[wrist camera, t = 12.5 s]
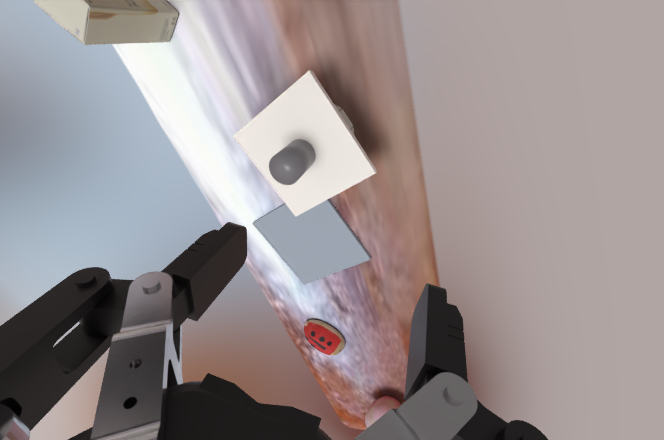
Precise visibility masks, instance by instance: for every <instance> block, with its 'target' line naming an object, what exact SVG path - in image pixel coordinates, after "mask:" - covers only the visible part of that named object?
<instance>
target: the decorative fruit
mask: <svg viewBox="0 0 664 440" xmlns="http://www.w3.org/2000/svg"><path fill="white" fill-rule="evenodd" d="M400 406H401V404H400V402H399V401H397V400H396V399H395V398H393V397H390V396H383V397H381V398H379V399H378V400H376V401H375V402H374V403H373V404H372V405H371V407H370V408H369V410H368V411H367V414H366V417H365V423H366V427H367V428H368V427H369V426H371V425H372V424H373V423H374V422H375V421H377V420H378V419H379V418H380V417H381V416H383V415H384V414H385V413H386V412H388V411H389V410H391V409H393V408H394V409H397V408H398V407H400Z"/></svg>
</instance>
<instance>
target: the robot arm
mask: <svg viewBox="0 0 664 440" xmlns="http://www.w3.org/2000/svg"><path fill="white" fill-rule="evenodd" d="M246 257H247V230H246V227H244V226H241V225H237V224H234V223H231V222H228V223H226V224H225V225H224V226H223V227H222V228H221V229H220V230H219V231H218V230H212V231H210V232H208V233H206V234H204V235H202V236H201V237H200V238H199V239H198V240H197V241H195V243H193V244H192V245H191V246H190V247H189V248H188V250H187V249H186V250H185V251H184V252H183V253H182V254H181V255H179V257H177V258H176V259H175V260H174V261H173V262H172V263H171V264H169V265H168V266H167V267H166V268H165V269H164V270H162V271H161V272H149V273H146V274H143V275H141V276H140V277H138V278H136V279H135V280H119V279H111V277H110V274H109V272H108V271H107V270H106V269H103V268H99V267H93V268H86V269H82V270H79V271H77V272H75V273H73V274H71V275H70V276H68V277H67V278H66V279H64V280H63V281H62V282H60V283H59V284H57V285H56V286H55V287H53V288H52V289H51V290H50V291H48V292H46V293H45V294H44V295H42V296H41V297H40V298H38V299H37V300H36V301H34V302H33V303H31V304H30V305H29V306H28V307H26V308H25V309H23V310H22V311H20V312H19V313H18V314H16V315H15V316H14V317H12V318H11V319H10V320H8V321H7V322H5V323H4V324H3V325H1V326H0V440H29V438H30V431H31V430H32V429H33V428H34V426H35V425H36V424H37V423H38V422H39V421H40V420H41V419H42V418H43V417H44V416H45V415H46V414H47V413H48V412H49V411H50V410H51V409H52V407H53V406H54V405H55V404H56V403H57V402H58V401H59V400H60V399H61V398H62V397H63V396H64V395H65V394H66V393H67V391H69V389H70V388H71V387H72V386H73V385H74V384H75V383H76V382H77V381H78V380H79V379H80V378H81V377H82V376H83V375H84V374H85V373H86V372H87V371H88V369H89V368H90V367H91V366H92V365H93V364H94V363H95V362H96V361H97V360H98V359H99V358H100V357H101V356H102V355H103V354H104V353H105V351H106V350H107V349H108V348H109V347H110V350H109V354H108V359H107V364H106V368H105V373H104V378H103V382H102V387H101V392H100V396H99V401H98V406H97V410H96V415H95V420H94V424H93V427H92V428H90V429H88V430H86V431H84V432H82V433H80V434H78V435H76V436H74V437H72V438H70V439H68V440H331V438H330V437H329V436H328V435H327V434H326V433H325V432H324V431H323V430H321V429H320V428H319V425H320V421H321V418H319V417H317V416H314V415H312V414H309V413H307V412H304V411H301V410H299V409H296V408H294V407H290V406H279V405H270V404H260V403H258V402H256V401H255V400H254V399H253V398H251V397H250V396H249V395H248V394H246V393H245V392H244V391H243V390H241V389H240V388H239V387H238V386H237V385H235V384H234V383H231V382H229V381H226V380H224V379H221V378H219V377H216V376H214V375H211V374H209V373H208V374H207V375H206V377H205V378H204V380H203V381H201V382H200V381H197V382H187V383H183V379H182V323H183V322H184V321H185V320H186V319H187V318H189V319H192V320H195V321H198V319H199V318H200V317H201V316H202V315H203V313H204V312H205V311H206V310H207V308H208V307H209V306H210V305H211V303H212V302H213V301H214V300H215V299H216V297H217V296H218V295H219V294H220V293H221V291H222V290H223V289H224V288H225V287H226V285H227V284H228V283H229V282H230V281H231V279H232V278H233V277H234V276H235V274H236V273H237V272H238V271H239V270H240V268H241V267H242V266H243V264H244V262H245V260H246ZM446 294H447V293H446V289H444V288H441V287H437V286H434V285H431V284H426V286H425V288H424V290H423V292H422V294H421V296H420V299H419V301H418V303H417V305H416V308H415V310H414V314H413V318H412V324H411V334H410V345H409V356H408V366H407V377H406V387H405V398H404V400H407V401H406V402H404V403H403V404H402V405H401V406H400V407H398V408H397V409H394V408H393V409H391V410H389V411H388V412H386V413H385V414H384V415H383V416H381V417H380V418H379V419H378V420H377V421H375V422H374V423H373V424H372V425H371V426H369V427H368V428H367V429H366V430H365V431H363V432H362V433H361V434H360V435H359V436H357V437H356V438H355V439H354V440H548V439H547V438H546V436H545V435H544V434H542V432H541V431H540V430H538V429H537V428H536V427H534V426H533V425H531V424H529V423H527V422H524V421H520V420H514V421H511V422H509V423H507V422H505V421H504V420H502V419H501V418H499V417H498V416H497V415H495V414H494V413H492V412H491V411H489V410H488V409H487V408H485V407H484V406H483V405H482V404H481V403H480V402H479V401H478V400H477V398H476V395H475V393H474V391H473V389H472V388H471V386H470V385H469V384H468V380H467V371H466V370H467V369H466V355H465V343H464V332H463V318H462V316H461V314H460V312H459V310H458V308H457V307H456V306H454V305H451V304H448V303H447V295H446ZM77 322H80V324H79V325H78V326H77V327H76V328H74V329H73V330H72V331H71V332H70V333H69V334H68V335H67V336H65V337H64V338H63V339H62V340H61V341H60V342H59V343H58V344H57V345H55V346H54V344H55V343H56V341H57V340H58V339H59V338H60V337H61V336H63V335H64V334H65V333H66V332H67V331H68V330H69V329H71V328H72V327H73V326H74V325H75V324H76V323H77ZM53 346H54V347H53Z"/></svg>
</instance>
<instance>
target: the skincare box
mask: <svg viewBox="0 0 664 440" xmlns="http://www.w3.org/2000/svg"><path fill="white" fill-rule="evenodd" d="M34 2H35V4H36V5H38V6H39V7H40V8H41V9H42V10H43V11H45V12H46V13H47V14H48V15H49V16H51V17H52V18H53V19H54V20H55V21H56V22H57V23H58V24H59V25H60V26H62V27H63V28H64V29H66V30H67V31H68V32H69V33H70V34H72V35H73V36H74V37H75V38H76V39H78V40H79V41H80V42H81V43H82V44H83V45H91V44H120V43H149V42H169V41H170V38H171V36H172V33H173V30H174V27H175V24H176V20H177V17H178V12H177V11H176V10H175V9H174V8H173V7H172V6H171V5H170V4H169V3H168V2H167V1H166V0H34Z"/></svg>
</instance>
